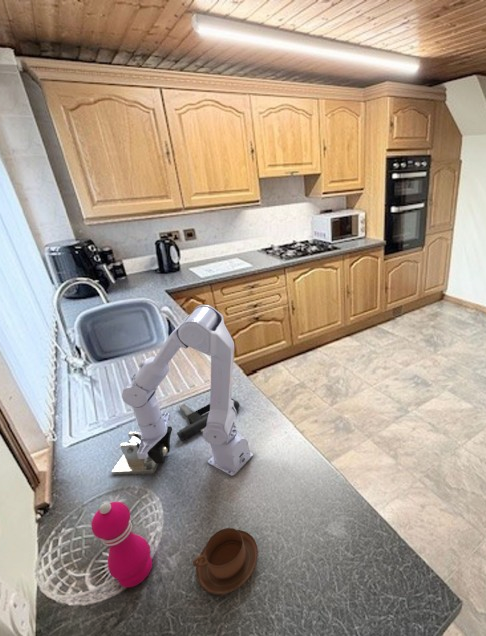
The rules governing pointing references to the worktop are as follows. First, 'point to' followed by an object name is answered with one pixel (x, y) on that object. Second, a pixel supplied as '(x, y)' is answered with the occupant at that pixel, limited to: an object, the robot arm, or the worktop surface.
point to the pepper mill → (122, 544)
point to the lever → (137, 439)
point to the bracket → (133, 459)
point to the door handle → (196, 420)
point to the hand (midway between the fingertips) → (162, 456)
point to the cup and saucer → (226, 561)
